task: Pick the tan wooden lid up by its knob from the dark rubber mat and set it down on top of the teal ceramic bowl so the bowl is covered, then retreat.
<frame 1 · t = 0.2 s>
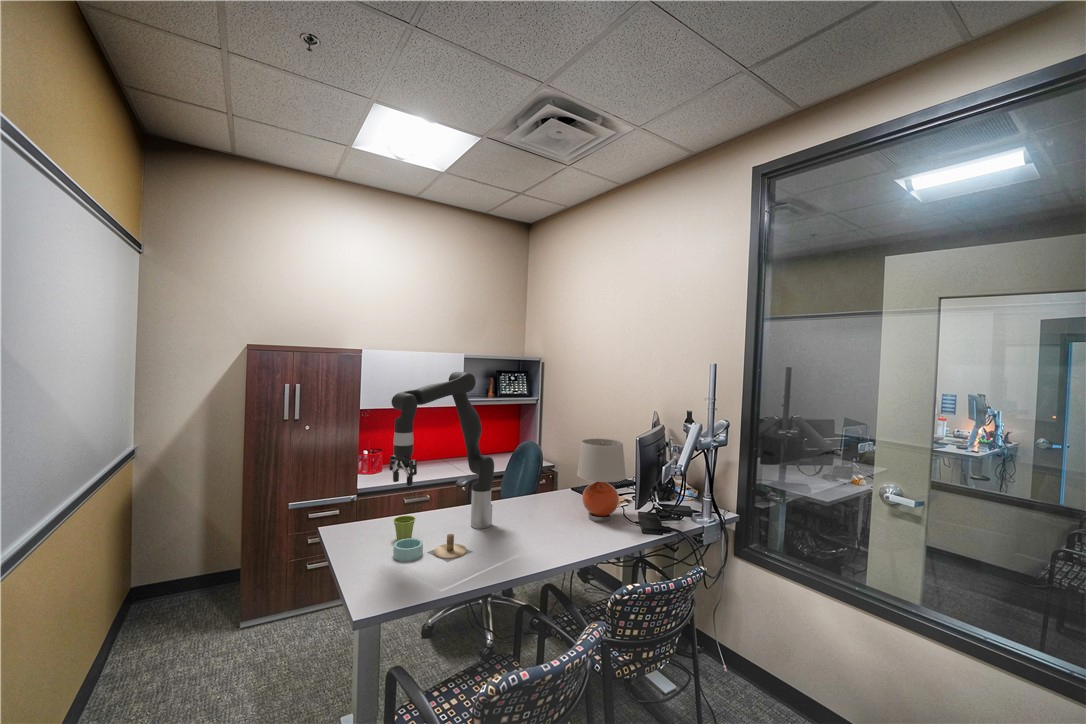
hand: (402, 483, 183), 29 cm above the table, fingers open, 8 cm apart
lamp: (600, 518, 233), on the table
lid: (450, 551, 186), point 1 cm above the table, touching mat
plant pot: (403, 539, 199), on the table
bowl: (407, 556, 182), on the table
mat: (450, 553, 186), on the table
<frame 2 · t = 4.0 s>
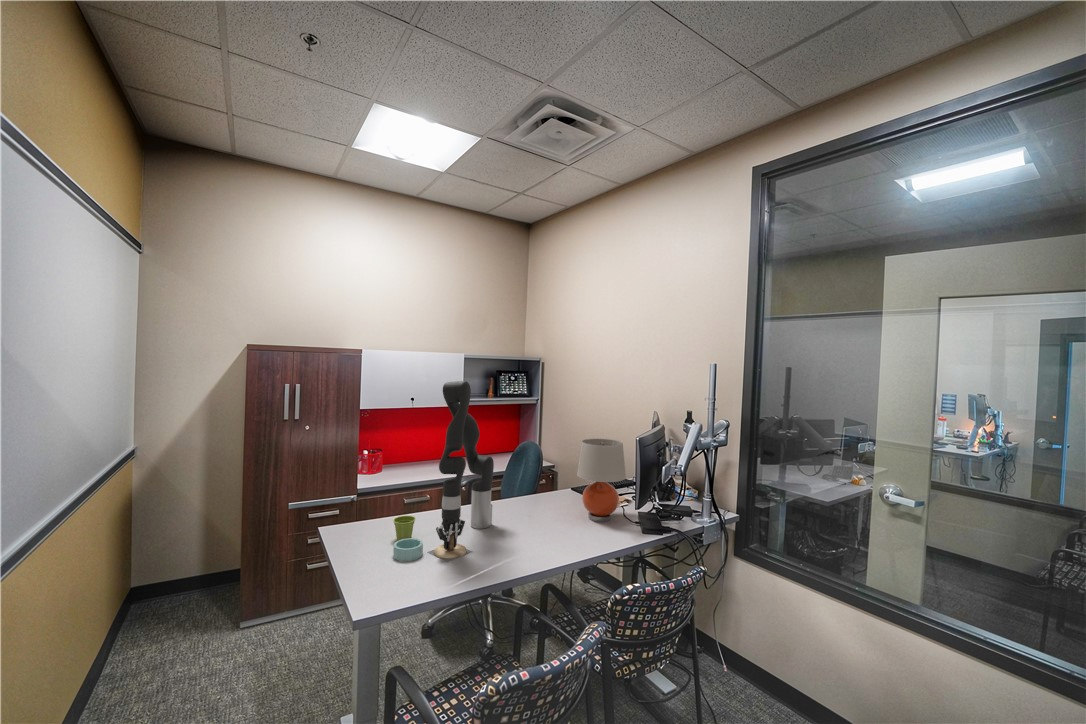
hand: (450, 548, 186), 2 cm above the table, fingers closed on lid, 2 cm apart
lid: (450, 551, 186), point 1 cm above the table, touching gripper, mat
everything else where it was.
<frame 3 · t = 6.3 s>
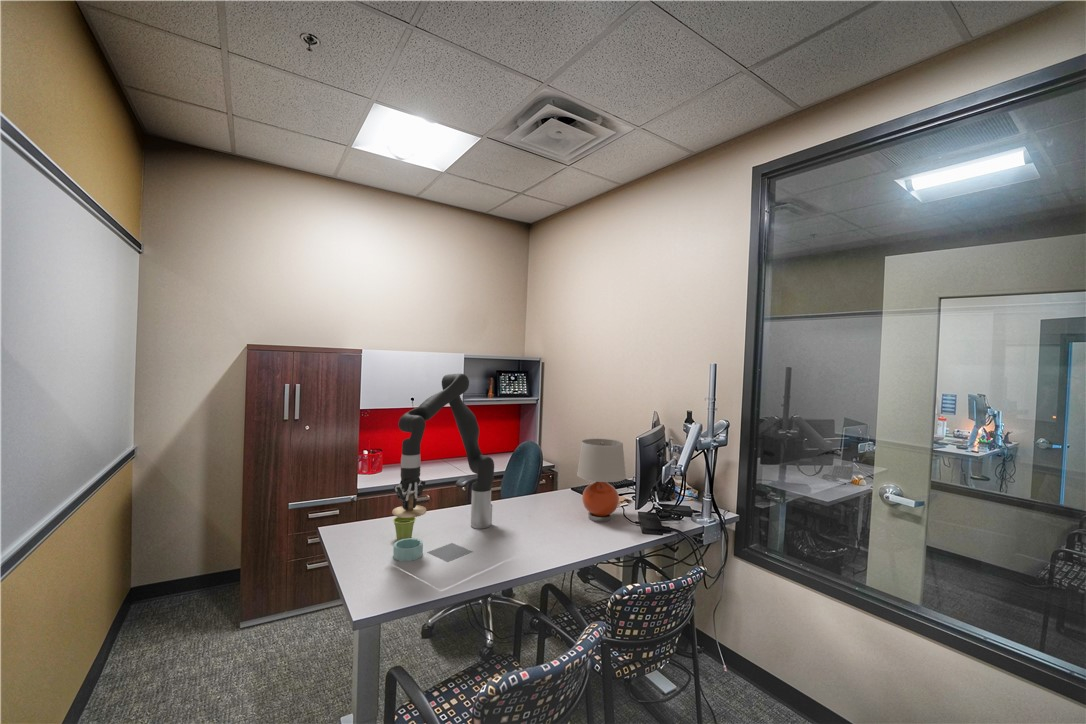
hand: (409, 508, 182), 19 cm above the table, fingers closed on lid, 2 cm apart
lid: (409, 512, 182), point 18 cm above the table, touching gripper
everything else where it was.
when the fingers open (8 cm above the table, at t = 9.0 s): lid drops 1 cm, resting on bowl.
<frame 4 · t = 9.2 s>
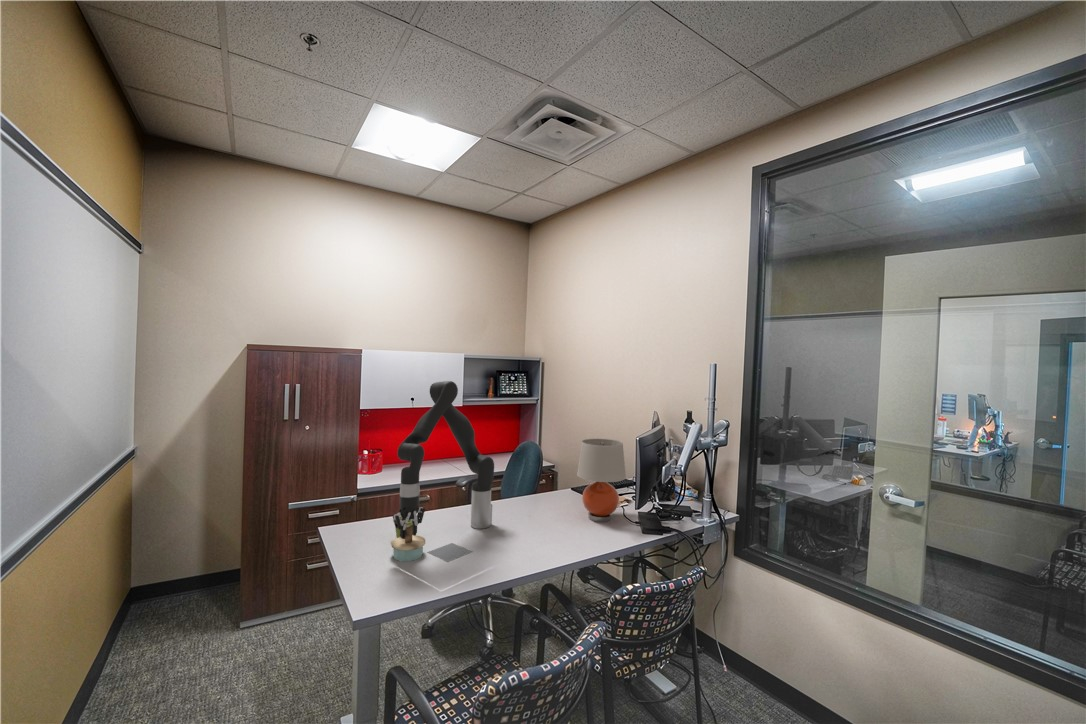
hand: (408, 536, 182), 8 cm above the table, fingers open, 4 cm apart
lid: (408, 543, 182), point 5 cm above the table, touching bowl
everything else where it was.
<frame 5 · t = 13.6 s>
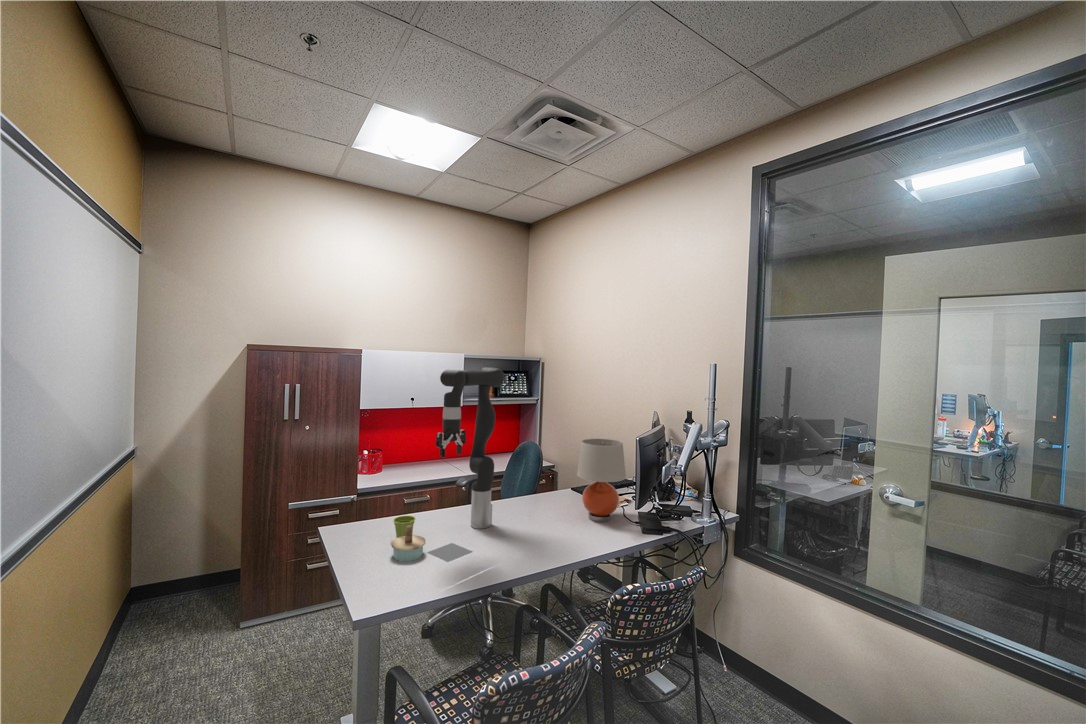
hand: (450, 455, 193), 38 cm above the table, fingers open, 8 cm apart
nothing on the table moved.
at the end: lid 0.1 cm off-centre on the bowl, point 5.0 cm above the bowl's base; lid tilted 0°; the gripper is holding nothing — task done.
